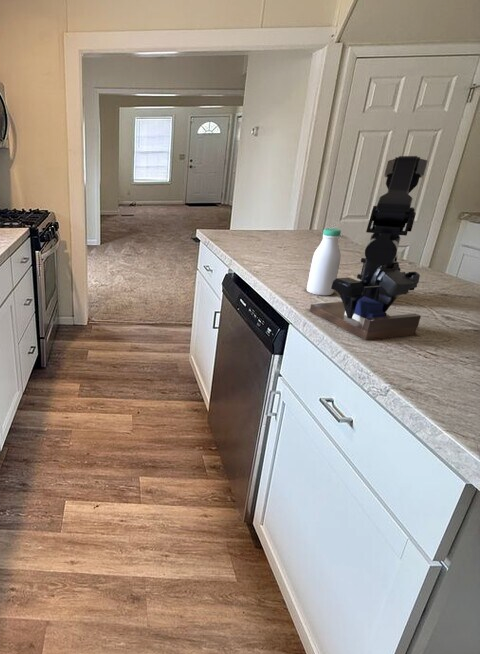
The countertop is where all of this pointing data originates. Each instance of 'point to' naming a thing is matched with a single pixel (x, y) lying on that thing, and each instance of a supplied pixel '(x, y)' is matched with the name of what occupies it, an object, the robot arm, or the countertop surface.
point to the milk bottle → (325, 264)
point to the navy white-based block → (367, 309)
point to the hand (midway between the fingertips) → (365, 316)
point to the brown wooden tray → (368, 322)
